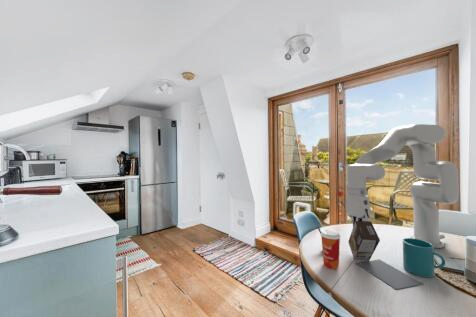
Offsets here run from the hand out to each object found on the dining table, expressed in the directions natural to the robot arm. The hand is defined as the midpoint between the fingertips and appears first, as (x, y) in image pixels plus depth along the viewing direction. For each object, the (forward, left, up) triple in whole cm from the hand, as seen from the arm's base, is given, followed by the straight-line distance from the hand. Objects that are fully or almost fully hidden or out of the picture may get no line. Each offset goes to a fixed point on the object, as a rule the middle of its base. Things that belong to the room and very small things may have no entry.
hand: (357, 231), depth 90 cm
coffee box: (0, 0, -9) cm, 9 cm away
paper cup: (+17, +4, -12) cm, 21 cm away
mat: (0, +14, -11) cm, 18 cm away
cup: (-14, +17, -12) cm, 25 cm away
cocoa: (+10, -7, -12) cm, 17 cm away
